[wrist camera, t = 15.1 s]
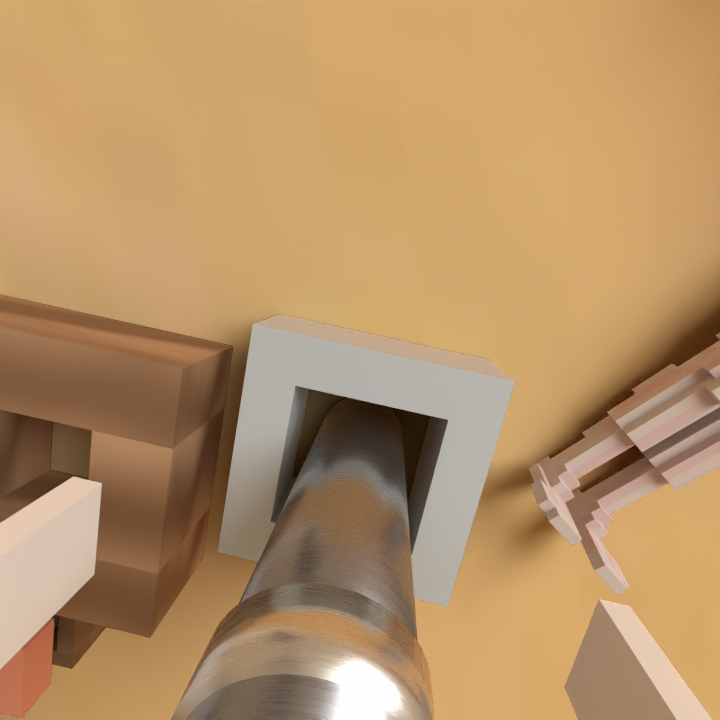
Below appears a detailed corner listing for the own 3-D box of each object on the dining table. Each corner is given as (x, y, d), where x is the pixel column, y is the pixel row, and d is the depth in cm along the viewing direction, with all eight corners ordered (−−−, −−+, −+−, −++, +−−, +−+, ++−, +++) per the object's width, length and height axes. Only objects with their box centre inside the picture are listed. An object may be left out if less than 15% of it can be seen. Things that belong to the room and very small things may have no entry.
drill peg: (326, 383, 20) (150, 677, 5) (415, 403, 20) (485, 760, 5) (310, 465, 21) (122, 907, 6) (395, 484, 21) (406, 982, 6)
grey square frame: (280, 314, 20) (252, 324, 16) (489, 360, 19) (515, 381, 15) (248, 502, 22) (217, 552, 18) (437, 545, 21) (447, 606, 17)
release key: (51, 541, 22) (-60, 629, 16) (114, 556, 22) (24, 649, 16) (48, 597, 23) (-60, 698, 17) (109, 612, 22) (21, 718, 17)
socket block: (-4, 293, 20) (-129, 299, 15) (233, 346, 20) (182, 369, 15) (-10, 570, 24) (-114, 647, 19) (193, 619, 23) (141, 710, 18)
